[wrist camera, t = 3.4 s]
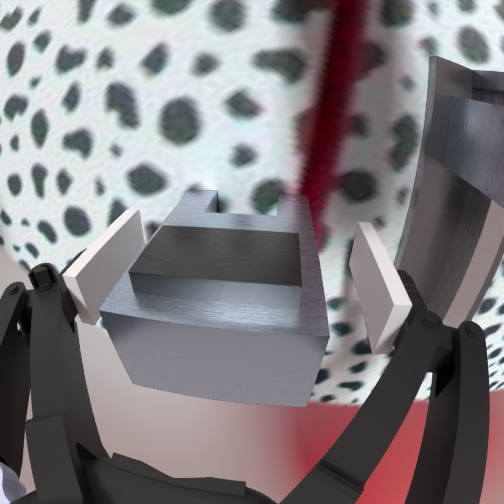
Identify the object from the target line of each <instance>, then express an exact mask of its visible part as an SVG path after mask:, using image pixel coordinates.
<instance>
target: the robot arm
mask: <svg viewBox="0 0 504 504" xmlns="http://www.w3.org/2000/svg"><path fill="white" fill-rule="evenodd" d="M144 246H145V241H144V236H143V230H142V224H141V218H140V212H139V209H127V210H126V211H125V212H124V213H123V214H122V215H121V216H120V217H119V218H118V219H117V220H116V221H114V222H113V223H112V224H111V225H110V226H109V227H108V228H107V229H106V230H105V231H104V232H103V233H102V234H101V235H100V236H99V237H98V238H97V239H96V240H95V241H94V242H93V243H92V244H91V245H90V246H89V247H88V248H86V249H85V250H83V251H81V252H80V253H78V254H77V255H76V257H75V258H74V259H73V260H72V261H71V262H70V263H69V265H67V266H66V267H65V268H64V269H63V270H62V271H61V273H60V274H59V275H58V276H57V277H56V275H55V272H54V269H53V267H52V265H51V264H50V263H42V264H39V265H37V266H35V267H34V268H32V270H31V271H30V272H29V274H28V276H29V279H30V281H31V283H32V285H33V288H34V289H33V290H26V288H25V285H24V283H22V282H15V283H12V284H10V285H9V286H8V287H7V288H6V290H5V291H4V293H3V295H2V297H1V299H0V504H277V503H276V502H275V501H273V500H272V499H270V498H269V497H268V496H266V495H264V494H262V493H260V492H258V491H256V490H253V489H251V488H248V487H246V482H243V481H234V480H226V479H219V478H212V477H206V478H173V477H170V476H168V475H166V474H164V473H162V472H160V471H159V470H157V469H155V468H153V467H151V466H149V465H148V464H145V463H144V462H142V461H139V460H135V459H132V458H129V457H126V456H123V455H120V454H117V453H113V456H112V458H110V457H109V455H108V453H107V452H106V450H105V449H104V447H103V445H102V443H101V440H100V437H99V433H98V430H97V426H96V423H95V419H94V415H93V412H92V407H91V403H90V399H89V394H88V390H87V385H86V380H85V375H84V369H83V364H82V358H81V352H80V345H79V337H78V330H77V323H76V321H75V319H74V318H75V317H76V315H77V314H79V316H80V319H81V321H82V322H83V323H87V324H91V325H95V324H96V322H97V321H98V319H99V318H100V316H101V315H100V312H99V309H100V307H101V306H102V304H103V303H104V301H105V300H106V298H107V297H108V295H109V294H110V293H111V291H112V290H113V288H114V287H115V285H116V284H117V283H118V281H119V280H120V278H121V277H122V276H123V274H124V273H125V271H126V270H127V269H128V267H129V266H130V265H131V263H132V262H133V260H134V259H135V258H136V256H137V255H138V254H139V252H140V251H141V250H142V248H143V247H144ZM349 266H350V269H351V273H352V276H353V280H354V283H355V287H356V290H357V294H358V298H359V301H360V305H361V309H362V313H363V317H364V321H365V325H366V329H367V333H368V337H369V341H370V346H371V350H372V354H389V353H390V351H391V349H392V347H393V345H394V347H395V351H396V352H395V354H394V356H393V357H392V359H391V361H390V363H389V364H388V366H387V368H386V369H385V371H384V373H383V374H382V376H381V377H380V379H379V381H378V382H377V384H376V385H375V387H374V389H373V390H372V392H371V393H370V395H369V396H368V398H367V399H366V401H365V402H364V404H363V405H362V407H361V408H360V409H359V411H358V412H357V414H356V415H355V417H354V418H353V419H352V421H351V422H350V423H349V425H348V426H347V427H346V429H345V430H344V432H343V433H342V434H341V435H340V437H339V438H338V439H337V441H336V442H335V443H334V445H333V446H332V447H331V448H330V449H329V451H328V452H327V453H326V454H325V455H324V457H323V458H322V459H321V460H320V461H319V462H318V463H317V464H316V465H315V467H314V468H313V469H312V470H311V471H310V472H309V473H308V474H307V475H306V477H305V478H304V479H303V480H302V481H301V482H300V483H299V484H298V485H297V486H296V487H295V489H293V490H292V491H291V492H290V493H289V494H288V495H287V496H286V497H285V498H284V499H283V500H282V502H280V503H279V504H355V502H356V501H357V500H358V498H359V497H360V495H361V494H362V492H363V489H364V484H365V483H366V481H367V480H368V478H369V477H370V475H371V474H372V472H373V471H374V469H375V468H376V466H377V465H378V463H379V462H380V460H381V459H382V457H383V455H384V454H385V452H386V450H387V449H388V447H389V446H390V444H391V442H392V440H393V439H394V437H395V435H396V434H397V432H398V430H399V428H400V426H401V424H402V423H403V421H404V419H405V417H406V415H407V413H408V411H409V409H410V407H411V405H412V403H413V401H414V399H415V397H416V395H417V393H418V391H419V388H420V386H421V384H422V382H423V379H424V377H425V375H426V372H427V371H428V372H432V373H433V374H432V384H431V392H430V399H429V406H428V412H427V418H426V424H425V429H424V434H423V439H422V443H421V448H420V452H419V456H418V460H417V464H416V468H415V471H414V475H413V479H412V482H411V485H410V489H409V492H408V495H407V498H406V501H405V504H479V502H480V497H481V492H482V487H483V480H484V474H485V467H486V459H487V449H488V437H489V409H490V404H489V403H490V402H489V373H488V360H487V350H486V341H485V335H484V331H483V330H482V328H481V327H480V326H479V325H478V324H476V323H474V322H472V321H467V320H466V321H463V322H462V323H461V324H460V325H459V327H458V328H454V327H450V326H446V325H443V321H442V319H441V318H440V317H439V316H438V315H437V314H436V313H434V312H432V311H429V310H428V309H427V307H426V305H425V303H424V301H423V299H422V297H421V295H420V293H419V292H418V289H417V287H416V286H415V283H414V281H413V279H412V277H411V276H410V275H409V274H408V273H407V272H406V271H405V270H396V269H395V267H394V265H393V263H392V261H391V259H390V257H389V255H388V253H387V251H386V249H385V247H384V245H383V244H382V242H381V240H380V238H379V236H378V234H377V232H376V231H375V229H374V227H373V225H372V223H369V222H358V224H357V229H356V234H355V239H354V244H353V249H352V253H351V258H350V262H349ZM17 322H18V324H19V325H20V329H19V330H18V329H17ZM30 389H31V400H32V411H33V418H32V419H30V420H27V421H26V415H27V408H28V401H29V394H30ZM25 430H26V438H27V445H28V452H29V458H30V463H31V469H32V473H33V478H34V483H35V486H36V490H35V491H33V492H31V493H29V494H27V495H25V493H26V488H25V486H24V485H23V484H22V483H20V481H19V477H20V473H21V467H22V460H23V459H22V458H23V448H24V434H25ZM24 495H25V496H24Z"/></svg>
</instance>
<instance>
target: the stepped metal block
mask: <svg viewBox="0 0 504 504" xmlns="http://www.w3.org/2000/svg"><path fill="white" fill-rule="evenodd" d="M99 312H100V315H101V317H102V319H103V322H104V324H105V327H106V329H107V331H108V334H109V336H110V338H111V340H112V342H113V345H114V347H115V349H116V351H117V353H118V355H119V357H120V359H121V361H122V363H123V366H124V368H125V370H126V371H127V374H128V375H129V377H130V379H131V381H132V383H133V384H135V385H140V386H144V387H148V388H153V389H157V390H162V391H167V392H172V393H177V394H183V395H188V396H194V397H200V398H207V399H213V400H221V401H229V402H238V403H247V404H258V405H272V406H289V407H291V406H292V407H306V406H307V404H308V401H309V398H310V395H311V392H312V390H313V387H314V384H315V381H316V378H317V375H318V372H319V369H320V366H321V363H322V360H323V356H324V353H325V350H326V347H327V344H328V340H329V337H330V333H329V325H328V317H327V310H326V302H325V295H324V288H323V281H322V275H321V268H320V262H319V256H318V250H317V244H316V238H315V232H314V227H313V221H312V216H311V211H310V206H309V200H308V196H305V195H292V194H278V209H277V216H262V215H245V214H226V213H218V204H217V191H214V190H189V191H188V192H187V194H186V195H185V196H184V197H183V198H182V200H181V201H180V202H179V203H178V204H177V206H176V207H175V208H174V209H173V210H172V212H171V213H170V214H169V215H168V217H167V218H166V219H165V220H164V222H163V223H162V224H161V225H160V227H159V228H158V229H157V230H156V232H155V233H154V234H153V235H152V237H151V238H150V239H149V241H148V242H147V243H146V245H145V246H144V247H143V248H142V250H141V251H140V252H139V254H138V255H137V256H136V258H135V259H134V260H133V262H132V263H131V265H130V266H129V267H128V269H127V270H126V271H125V273H124V274H123V276H122V277H121V278H120V280H119V281H118V283H117V284H116V285H115V287H114V288H113V290H112V291H111V293H110V294H109V295H108V297H107V298H106V300H105V301H104V303H103V304H102V306H101V307H100V309H99Z"/></svg>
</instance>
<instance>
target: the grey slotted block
mask: <svg viewBox="0 0 504 504" xmlns="http://www.w3.org/2000/svg"><path fill="white" fill-rule="evenodd" d="M503 254H504V72H496V71H480V70H471V69H469V68H466V67H464V66H462V65H459V64H457V63H454V62H452V61H449V60H446V59H444V58H441V57H438V56H431V57H430V58H429V81H428V95H427V106H426V115H425V124H424V132H423V139H422V145H421V152H420V158H419V163H418V169H417V174H416V179H415V184H414V189H413V194H412V198H411V202H410V207H409V211H408V215H407V219H406V223H405V227H404V231H403V234H402V238H401V241H400V245H399V248H398V252H397V255H396V259H395V262H394V267H395V269H396V270H405V271H406V272H407V273H408V274H409V275H410V276H411V277H412V279H413V281H414V283H415V286H416V287H417V289H418V292H419V293H420V295H421V297H422V299H423V301H424V303H425V305H426V307H427V309H428V310H429V311H432V312H434V313H436V314H437V315H438V316H439V317H440V318H441V319H442V321H443V325H446V326H450V327H454V328H458V327H459V325H460V324H461V323H462V322H463V321H466V320H467V321H471V320H472V318H473V316H474V314H475V312H476V311H477V309H478V307H479V305H480V303H481V301H482V299H483V297H484V295H485V293H486V291H487V289H488V287H489V285H490V283H491V281H492V279H493V277H494V275H495V273H496V270H497V268H498V266H499V263H500V261H501V259H502V256H503ZM367 339H368V343H369V345H370V341H369V337H367ZM426 373H429V372H428V371H427V372H426Z"/></svg>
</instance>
